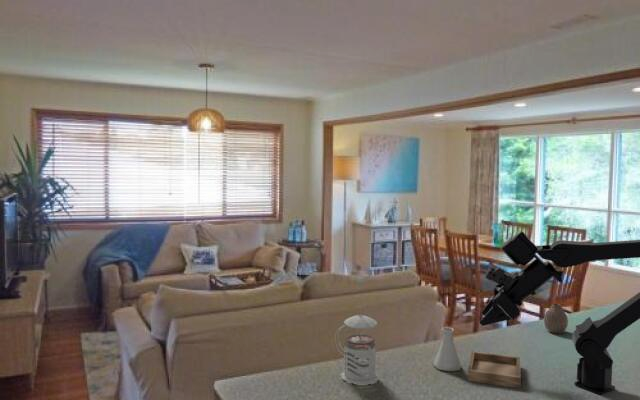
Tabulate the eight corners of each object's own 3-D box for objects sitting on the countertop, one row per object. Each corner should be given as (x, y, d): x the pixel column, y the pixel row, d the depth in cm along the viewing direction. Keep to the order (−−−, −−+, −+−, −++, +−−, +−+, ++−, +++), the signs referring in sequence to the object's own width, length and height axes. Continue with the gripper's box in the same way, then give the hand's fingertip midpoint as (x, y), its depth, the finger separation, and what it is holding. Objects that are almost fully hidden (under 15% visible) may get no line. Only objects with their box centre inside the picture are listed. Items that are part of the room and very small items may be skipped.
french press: (369, 389, 119) (370, 283, 117) (326, 378, 125) (327, 277, 123) (386, 374, 127) (387, 275, 126) (345, 365, 133) (346, 270, 132)
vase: (545, 333, 160) (546, 306, 159) (542, 327, 167) (543, 300, 166) (569, 336, 158) (570, 308, 157) (565, 329, 165) (566, 302, 164)
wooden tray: (519, 366, 133) (519, 357, 133) (520, 388, 120) (520, 377, 120) (471, 360, 137) (471, 351, 137) (467, 380, 124) (467, 370, 124)
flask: (458, 362, 136) (459, 325, 136) (463, 372, 129) (464, 334, 128) (431, 360, 137) (432, 324, 136) (434, 371, 130) (435, 333, 129)
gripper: (506, 249, 135) (462, 286, 139) (505, 261, 117) (455, 303, 122) (537, 281, 133) (491, 318, 137) (541, 298, 115) (489, 340, 120)
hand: (481, 318), depth 129 cm, fingers open, 9 cm apart
